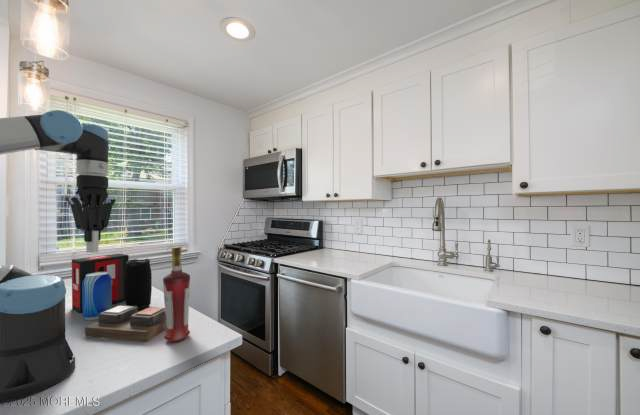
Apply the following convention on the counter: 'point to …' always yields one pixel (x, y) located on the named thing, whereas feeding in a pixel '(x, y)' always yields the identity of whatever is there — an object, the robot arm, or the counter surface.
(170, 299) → the liquor
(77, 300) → the cleaning product box
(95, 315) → the blue striped container
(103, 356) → the counter surface
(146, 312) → the brick-red key
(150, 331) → the key panel
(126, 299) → the black tapered cylinder
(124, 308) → the off-white key
